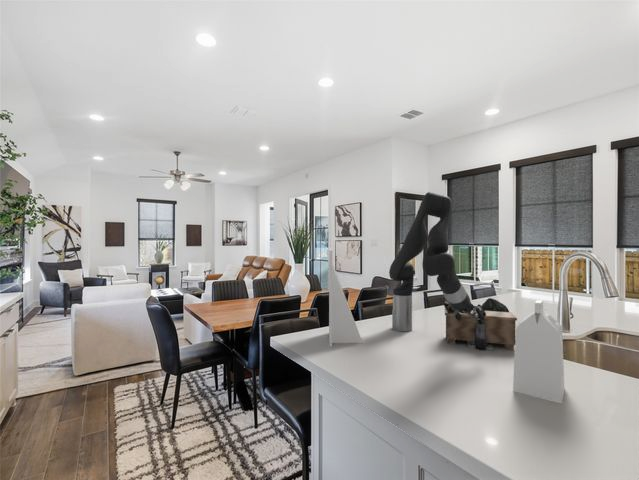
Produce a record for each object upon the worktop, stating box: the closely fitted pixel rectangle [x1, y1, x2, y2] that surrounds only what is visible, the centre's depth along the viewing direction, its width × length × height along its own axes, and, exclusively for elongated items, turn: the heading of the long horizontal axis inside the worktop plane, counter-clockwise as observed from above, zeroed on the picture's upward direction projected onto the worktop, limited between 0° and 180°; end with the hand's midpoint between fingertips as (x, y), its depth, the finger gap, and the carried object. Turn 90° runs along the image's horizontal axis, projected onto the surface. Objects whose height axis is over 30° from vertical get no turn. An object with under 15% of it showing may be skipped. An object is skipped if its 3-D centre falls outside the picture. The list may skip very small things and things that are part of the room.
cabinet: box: [444, 308, 518, 351], centre depth 142 cm, size 27×11×13 cm, turn 70°
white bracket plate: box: [328, 248, 364, 347], centre depth 147 cm, size 20×14×40 cm
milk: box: [512, 299, 565, 404], centre depth 97 cm, size 12×12×26 cm
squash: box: [481, 297, 510, 312], centre depth 172 cm, size 14×15×15 cm
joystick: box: [466, 323, 494, 352], centre depth 137 cm, size 9×12×10 cm
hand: (470, 321), depth 128 cm, fingers open, 8 cm apart
